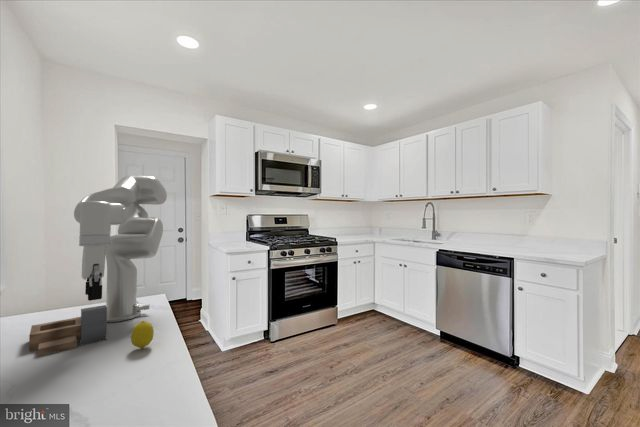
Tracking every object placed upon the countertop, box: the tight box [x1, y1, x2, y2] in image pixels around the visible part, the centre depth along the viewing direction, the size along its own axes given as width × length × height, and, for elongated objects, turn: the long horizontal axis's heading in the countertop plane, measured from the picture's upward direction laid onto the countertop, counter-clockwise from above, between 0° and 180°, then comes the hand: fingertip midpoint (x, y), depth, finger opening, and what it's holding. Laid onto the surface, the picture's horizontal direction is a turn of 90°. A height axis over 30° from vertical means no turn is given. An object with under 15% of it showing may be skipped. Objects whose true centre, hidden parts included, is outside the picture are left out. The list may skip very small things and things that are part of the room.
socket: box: [28, 316, 81, 357], centre depth 87 cm, size 12×22×4 cm, turn 43°
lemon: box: [130, 320, 155, 350], centre depth 81 cm, size 6×6×8 cm
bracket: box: [79, 304, 108, 347], centre depth 87 cm, size 6×4×10 cm, turn 133°
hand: (93, 296), depth 86 cm, fingers open, 9 cm apart
